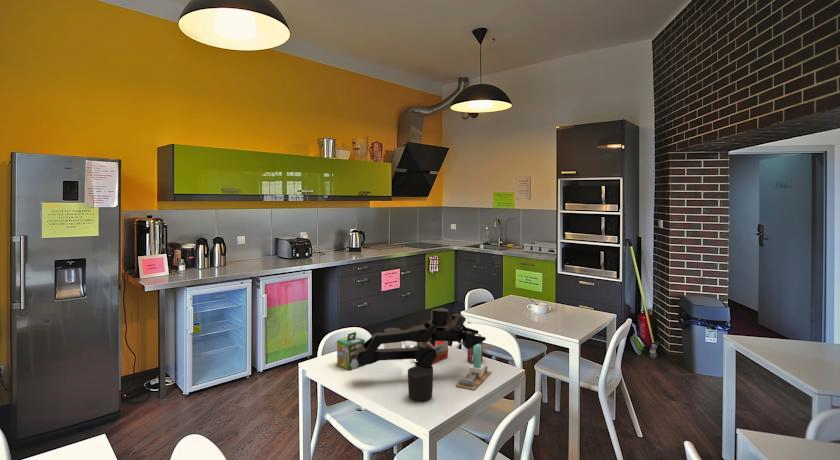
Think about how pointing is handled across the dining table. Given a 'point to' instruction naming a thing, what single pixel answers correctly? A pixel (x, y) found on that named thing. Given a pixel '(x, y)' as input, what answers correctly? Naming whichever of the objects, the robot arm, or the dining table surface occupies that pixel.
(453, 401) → the dining table surface
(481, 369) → the carriage
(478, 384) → the rail
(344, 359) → the chalk box
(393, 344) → the jar
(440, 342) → the medicine box
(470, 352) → the soda can
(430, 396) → the pen holder
